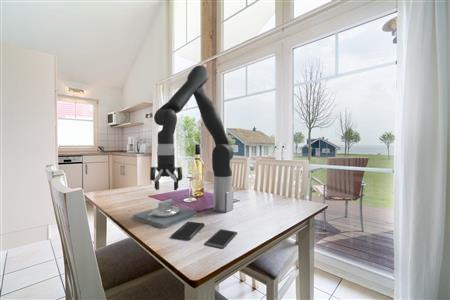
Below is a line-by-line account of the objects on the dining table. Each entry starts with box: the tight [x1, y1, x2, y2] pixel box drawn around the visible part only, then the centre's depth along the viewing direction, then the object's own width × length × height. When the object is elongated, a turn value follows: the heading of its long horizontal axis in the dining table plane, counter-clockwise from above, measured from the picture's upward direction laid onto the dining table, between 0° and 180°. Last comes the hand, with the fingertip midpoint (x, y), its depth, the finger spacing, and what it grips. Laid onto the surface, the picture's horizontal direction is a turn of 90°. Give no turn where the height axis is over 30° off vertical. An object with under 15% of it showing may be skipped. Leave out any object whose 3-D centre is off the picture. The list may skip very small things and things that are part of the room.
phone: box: [170, 221, 206, 242], centre depth 84 cm, size 8×1×15 cm
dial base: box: [132, 205, 198, 229], centre depth 100 cm, size 20×20×2 cm
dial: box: [148, 198, 179, 218], centre depth 98 cm, size 16×12×6 cm
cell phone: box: [203, 228, 238, 250], centre depth 78 cm, size 7×14×1 cm, turn 157°
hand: (166, 189), depth 99 cm, fingers open, 8 cm apart
